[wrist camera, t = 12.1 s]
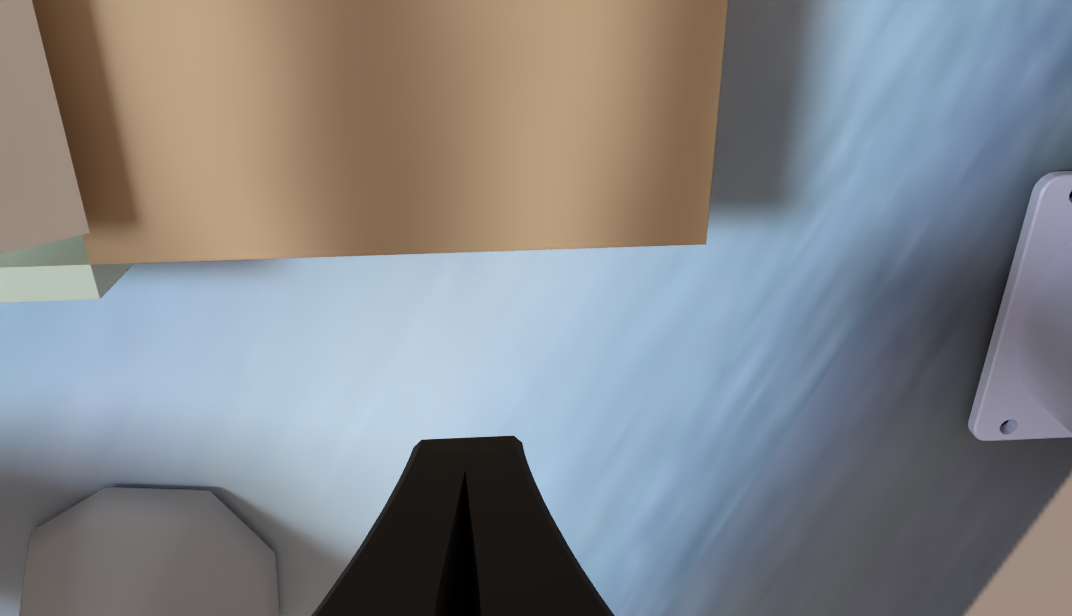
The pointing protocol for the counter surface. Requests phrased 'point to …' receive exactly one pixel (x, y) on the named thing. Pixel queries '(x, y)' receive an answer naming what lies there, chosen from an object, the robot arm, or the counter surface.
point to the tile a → (32, 141)
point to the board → (385, 124)
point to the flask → (148, 559)
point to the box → (55, 273)
